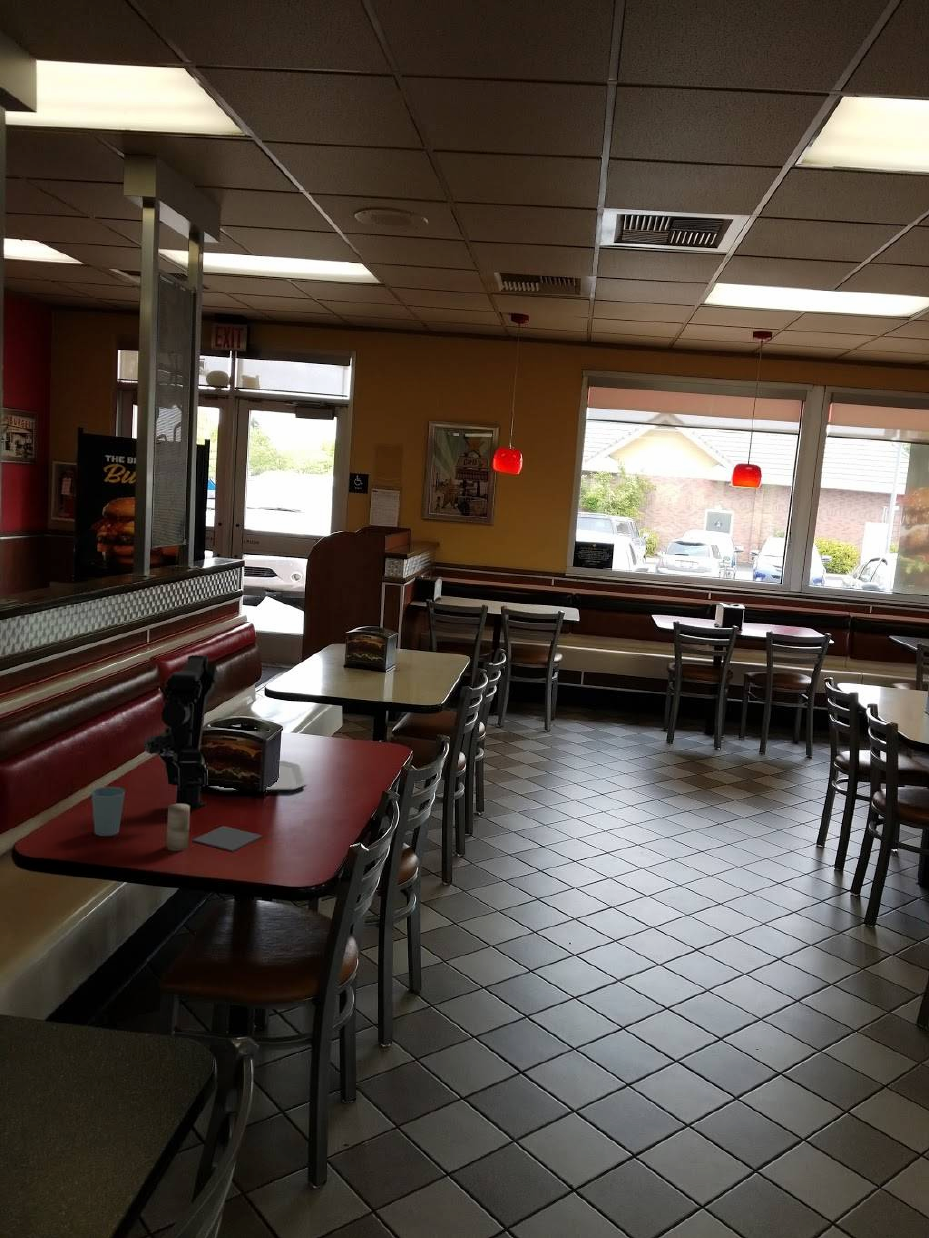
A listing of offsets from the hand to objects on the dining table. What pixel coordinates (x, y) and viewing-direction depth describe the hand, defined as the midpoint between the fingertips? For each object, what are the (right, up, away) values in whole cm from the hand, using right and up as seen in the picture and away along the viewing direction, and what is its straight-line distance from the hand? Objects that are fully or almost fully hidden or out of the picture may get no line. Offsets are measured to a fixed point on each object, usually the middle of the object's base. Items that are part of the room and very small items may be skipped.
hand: (175, 786), depth 238 cm
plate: (+9, -7, +47) cm, 49 cm away
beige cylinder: (+3, -13, -9) cm, 16 cm away
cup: (-16, -11, -4) cm, 20 cm away
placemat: (+14, -13, -2) cm, 19 cm away
